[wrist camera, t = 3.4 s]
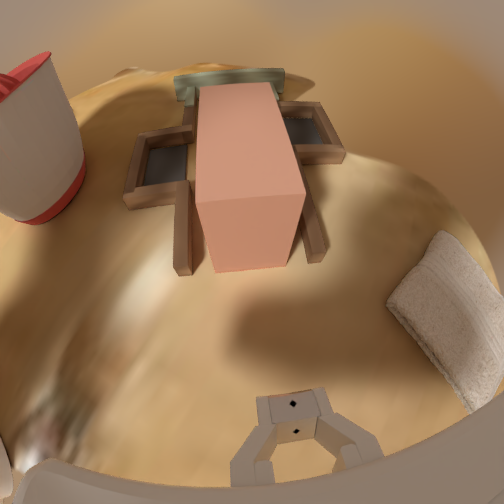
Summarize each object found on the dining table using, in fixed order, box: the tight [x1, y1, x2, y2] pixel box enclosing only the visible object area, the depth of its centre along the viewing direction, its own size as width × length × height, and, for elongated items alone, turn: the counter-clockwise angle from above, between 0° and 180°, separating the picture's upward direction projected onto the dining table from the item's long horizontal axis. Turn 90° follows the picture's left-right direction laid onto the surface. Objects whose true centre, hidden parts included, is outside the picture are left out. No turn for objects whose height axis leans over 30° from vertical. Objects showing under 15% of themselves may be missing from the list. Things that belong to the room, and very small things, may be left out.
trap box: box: [123, 68, 345, 276], centre depth 28 cm, size 24×29×4 cm
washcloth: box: [385, 230, 504, 414], centre depth 19 cm, size 12×18×3 cm, turn 39°
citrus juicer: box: [0, 51, 86, 225], centre depth 18 cm, size 16×17×20 cm
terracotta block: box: [195, 82, 306, 273], centre depth 22 cm, size 6×13×10 cm, turn 6°
